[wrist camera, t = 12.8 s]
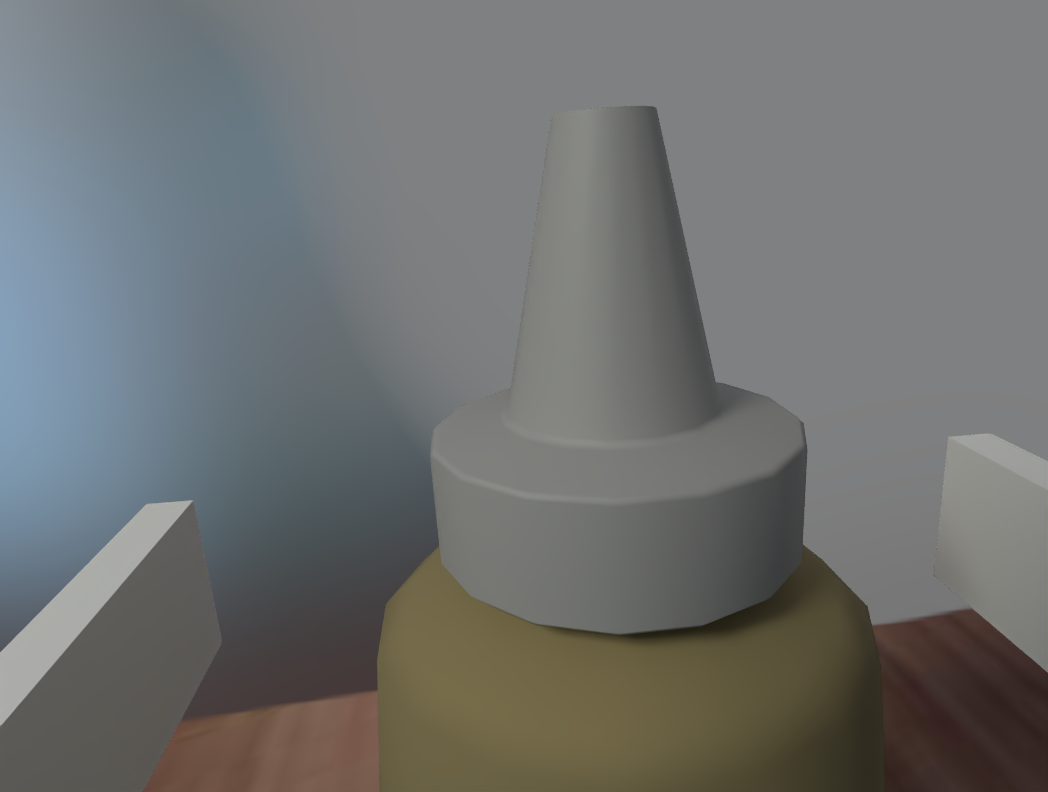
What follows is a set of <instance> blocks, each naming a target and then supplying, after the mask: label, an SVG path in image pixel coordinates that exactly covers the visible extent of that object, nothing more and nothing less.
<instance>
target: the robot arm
mask: <svg viewBox="0 0 1048 792" xmlns="http://www.w3.org/2000/svg"><path fill="white" fill-rule="evenodd" d="M934 576H935V577H936V578H938V579H939V580H940V581H941V582H942V583H943V584H944V585H946V586H947V587H948V588H949V589H950V590H952V591H953V592H954V593H955V594H956V595H957V596H959V597H960V598H961V599H962V600H963V601H964V602H966V603H967V604H968V605H969V606H970V607H971V608H973V609H974V610H975V611H976V612H977V613H979V614H980V615H981V616H982V617H983V618H984V619H986V620H987V621H988V622H989V623H990V624H991V625H993V626H994V627H995V628H996V629H997V630H998V631H1000V632H1001V633H1002V634H1003V635H1004V636H1006V637H1007V638H1008V639H1009V640H1010V641H1011V642H1013V643H1014V644H1015V645H1016V646H1017V647H1018V648H1020V649H1021V650H1022V651H1023V652H1024V653H1025V654H1027V655H1028V656H1029V657H1030V658H1031V659H1033V660H1034V661H1035V662H1036V663H1037V664H1038V665H1040V666H1041V667H1042V668H1043V669H1044V670H1045V671H1047V672H1048V461H1046V460H1044V459H1042V458H1040V457H1038V456H1035V455H1034V454H1031V453H1029V452H1027V451H1025V450H1023V449H1021V448H1019V447H1017V446H1015V445H1013V444H1011V443H1009V442H1007V441H1005V440H1003V439H1001V438H999V437H997V436H995V435H993V434H990V433H988V434H976V435H965V436H953V437H948V446H947V455H946V465H945V474H944V483H943V493H942V502H941V511H940V520H939V530H938V539H937V548H936V558H935V568H934ZM221 643H222V639H221V635H220V630H219V625H218V620H217V615H216V610H215V605H214V600H213V595H212V590H211V585H210V580H209V576H208V571H207V566H206V561H205V556H204V551H203V546H202V542H201V536H200V531H199V526H198V521H197V517H196V512H195V507H194V502H193V500H191V501H179V502H168V503H156V504H146V506H144V508H142V509H141V510H140V512H138V513H137V515H136V516H135V517H134V518H133V519H132V520H131V521H130V522H129V523H128V524H127V525H126V526H125V527H124V528H123V529H122V530H121V531H120V532H119V533H118V534H117V535H116V536H115V537H114V538H113V539H112V540H111V541H110V542H109V543H108V544H107V545H106V546H105V547H104V548H103V549H102V550H101V551H100V552H99V553H98V554H97V555H96V556H95V557H94V558H93V559H92V560H91V561H90V562H89V563H88V564H87V565H86V566H85V567H84V568H83V570H81V571H80V572H79V573H78V574H77V575H76V576H75V577H74V578H73V579H72V580H71V581H70V582H69V583H68V584H67V585H66V587H65V588H64V589H63V590H62V591H61V592H60V593H59V594H58V595H57V596H56V597H55V598H54V599H53V600H52V601H51V602H50V603H49V604H48V605H47V606H46V607H45V608H44V609H43V610H42V611H41V612H40V613H39V614H38V615H37V616H36V617H35V618H34V619H33V620H32V621H31V622H30V623H29V624H28V625H27V626H26V627H25V628H24V629H23V630H22V631H21V632H20V633H19V634H18V635H17V636H16V637H15V638H14V639H13V640H12V641H11V642H10V643H9V644H8V645H7V646H6V647H5V649H3V651H2V652H0V792H143V790H144V788H145V787H146V785H147V783H148V781H149V779H150V777H151V775H152V773H153V771H154V770H155V768H156V766H157V764H158V762H159V760H160V758H161V756H162V754H163V753H164V751H165V749H166V747H167V745H168V743H169V741H170V739H171V738H172V736H173V734H174V732H175V730H176V728H177V726H178V724H179V722H180V721H181V718H182V717H183V715H184V713H185V711H186V709H187V707H188V705H189V703H190V702H191V700H192V698H193V696H194V694H195V692H196V690H197V688H198V687H199V684H200V683H201V681H202V679H203V677H204V675H205V673H206V671H207V670H208V668H209V666H210V664H211V662H212V660H213V658H214V656H215V654H216V652H217V651H218V649H219V647H220V645H221Z"/></svg>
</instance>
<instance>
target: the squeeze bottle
mask: <svg viewBox="0 0 1048 792" xmlns="http://www.w3.org/2000/svg"><path fill="white" fill-rule="evenodd" d="M430 459H431V468H432V478H433V488H434V497H435V507H436V517H437V526H438V536H439V547H438V548H437V549H436V550H435V551H434V552H433V553H431V554H430V555H429V556H428V557H427V558H426V559H425V560H423V562H422V563H421V564H420V565H419V566H418V567H417V569H416V570H415V571H414V572H413V573H412V574H411V576H410V577H409V578H408V579H407V580H406V581H405V583H404V584H403V585H402V586H401V587H400V589H399V590H398V591H397V592H396V593H395V594H394V595H393V597H392V598H391V599H390V600H389V601H388V602H387V604H386V608H385V615H384V621H383V627H382V633H381V639H380V646H379V652H378V658H377V668H378V720H379V772H380V792H886V782H885V757H884V731H883V705H882V680H881V664H880V660H879V655H878V651H877V647H876V642H875V638H874V633H873V629H872V624H871V620H870V616H869V611H868V607H867V606H866V605H865V604H864V602H863V601H862V600H860V598H859V597H858V596H857V595H856V594H855V593H854V592H853V591H852V590H851V589H850V588H849V587H848V586H847V585H846V584H845V583H844V582H843V581H842V580H841V579H840V578H839V577H838V576H837V575H836V574H835V573H834V571H832V569H831V568H829V566H828V565H827V564H826V563H825V562H824V561H823V560H822V559H821V558H819V557H818V556H817V555H816V554H814V553H813V552H812V551H810V550H809V549H808V548H807V547H805V546H804V545H803V526H804V525H803V524H804V506H805V486H806V485H805V484H806V466H807V445H806V437H805V430H804V423H803V422H802V421H801V420H800V419H799V418H798V417H797V416H795V415H794V414H792V413H791V412H789V411H788V410H786V409H785V408H784V407H782V406H781V405H779V404H778V403H777V402H775V401H774V400H772V399H771V398H769V397H767V396H763V395H760V394H756V393H753V392H750V391H746V390H744V389H740V388H737V387H734V386H730V385H727V384H724V383H716V382H715V378H714V373H713V368H712V364H711V359H710V354H709V350H708V345H707V341H706V336H705V331H704V327H703V322H702V317H701V313H700V309H699V304H698V299H697V294H696V289H695V285H694V280H693V276H692V271H691V267H690V262H689V257H688V253H687V248H686V243H685V239H684V234H683V229H682V225H681V221H680V215H679V211H678V206H677V201H676V197H675V192H674V188H673V183H672V179H671V174H670V169H669V165H668V160H667V155H666V150H665V146H664V141H663V137H662V132H661V128H660V123H659V118H658V113H657V109H656V108H655V107H651V106H624V107H606V108H594V109H584V110H575V111H567V112H561V113H556V114H553V115H552V116H551V123H550V130H549V136H548V143H547V149H546V156H545V163H544V169H543V176H542V183H541V189H540V196H539V202H538V209H537V216H536V222H535V229H534V236H533V242H532V249H531V256H530V262H529V269H528V276H527V282H526V290H525V296H524V302H523V309H522V316H521V322H520V329H519V335H518V343H517V349H516V355H515V362H514V369H513V375H512V382H511V388H510V389H505V390H502V391H499V392H497V393H494V394H491V395H489V396H486V397H483V398H481V399H478V400H475V401H473V402H470V403H468V404H465V405H463V406H461V407H460V408H459V409H457V410H456V411H455V412H454V413H453V414H451V415H450V416H449V417H448V418H446V419H445V420H444V421H443V422H441V423H440V424H439V425H438V426H437V427H436V428H435V430H434V431H433V432H432V444H431V455H430Z"/></svg>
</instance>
